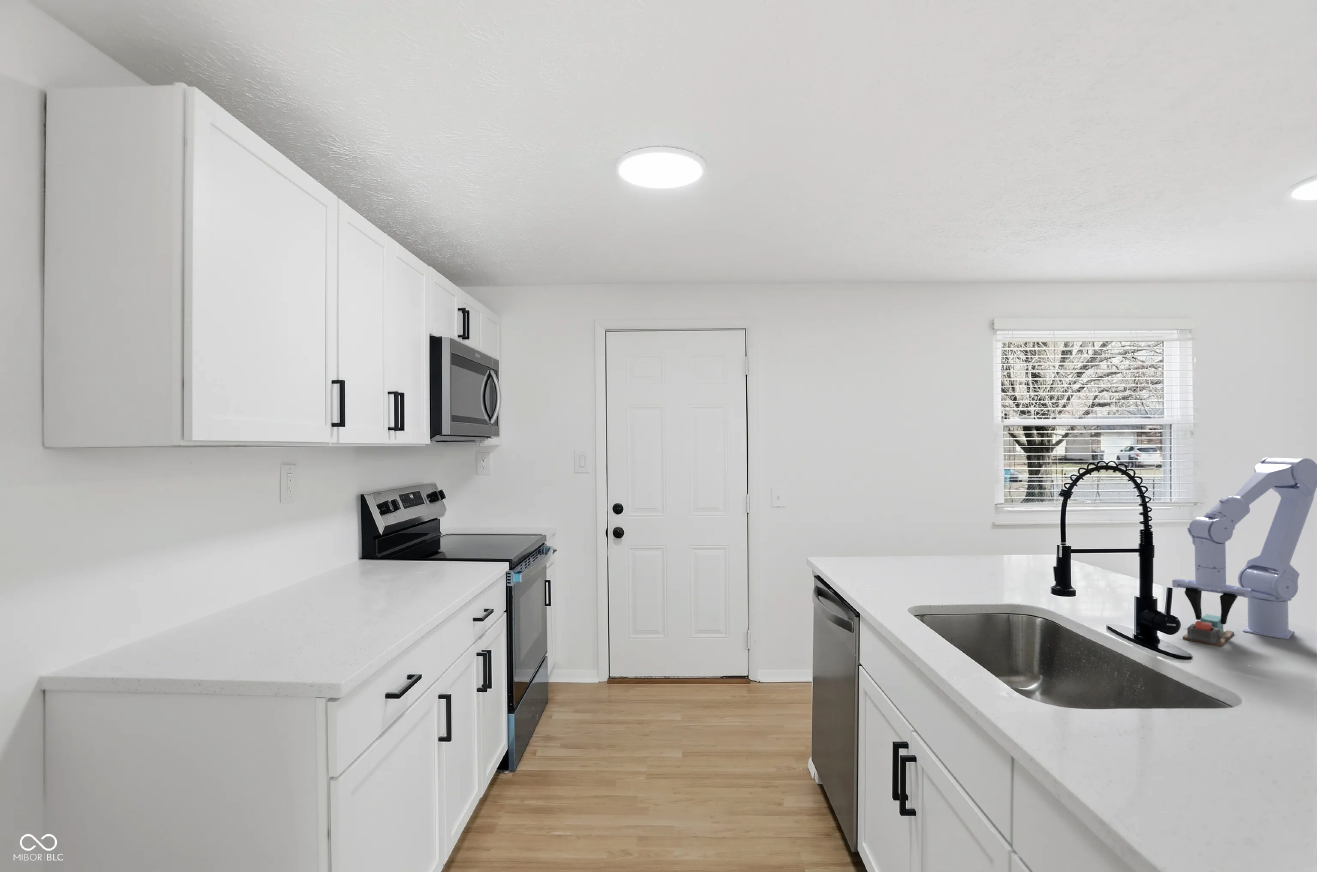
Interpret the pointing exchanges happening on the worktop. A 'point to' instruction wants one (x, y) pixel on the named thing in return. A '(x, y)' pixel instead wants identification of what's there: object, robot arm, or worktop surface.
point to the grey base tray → (1208, 635)
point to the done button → (1203, 625)
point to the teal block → (1213, 621)
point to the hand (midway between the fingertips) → (1211, 621)
